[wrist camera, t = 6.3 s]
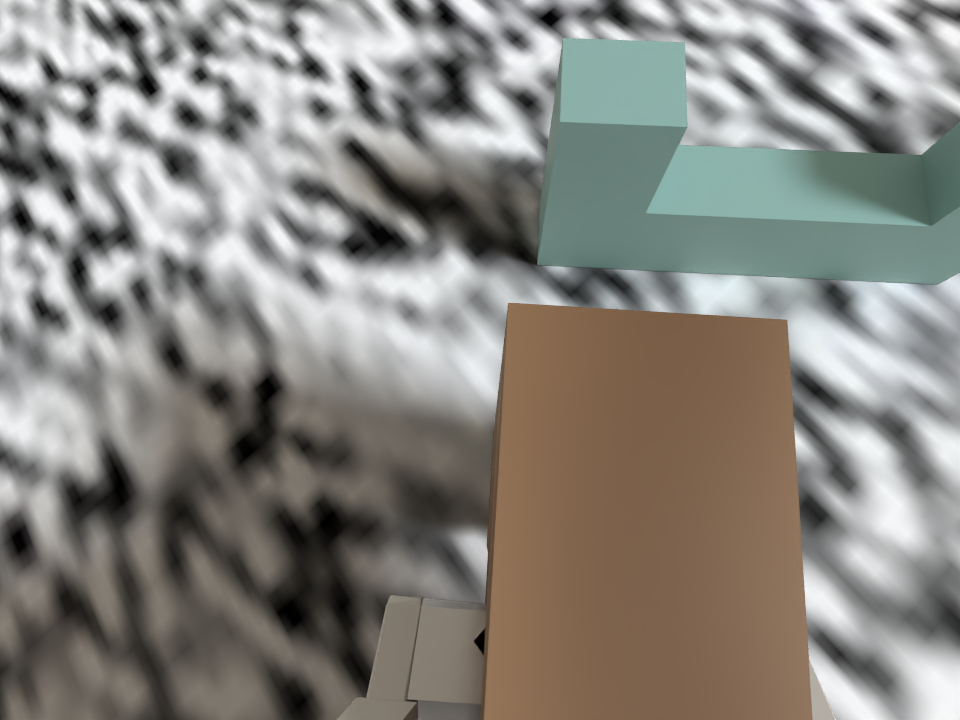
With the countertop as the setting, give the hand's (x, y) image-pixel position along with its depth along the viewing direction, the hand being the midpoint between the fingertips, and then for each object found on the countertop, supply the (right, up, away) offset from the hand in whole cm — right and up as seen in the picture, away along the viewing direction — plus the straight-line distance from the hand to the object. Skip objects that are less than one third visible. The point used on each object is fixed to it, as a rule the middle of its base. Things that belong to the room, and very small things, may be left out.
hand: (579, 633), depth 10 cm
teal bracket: (+6, +8, +10) cm, 14 cm away
